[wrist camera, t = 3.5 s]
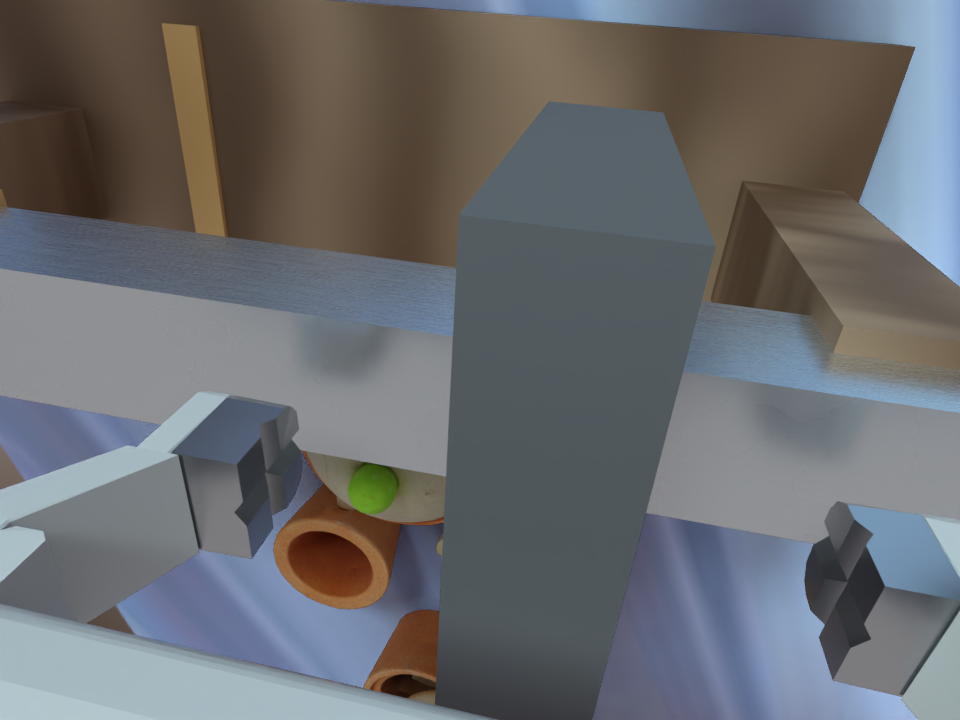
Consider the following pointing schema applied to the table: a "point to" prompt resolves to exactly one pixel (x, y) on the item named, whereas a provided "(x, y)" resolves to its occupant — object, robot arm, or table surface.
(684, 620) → the table surface
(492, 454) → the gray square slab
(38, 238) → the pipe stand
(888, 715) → the table surface
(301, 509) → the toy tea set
